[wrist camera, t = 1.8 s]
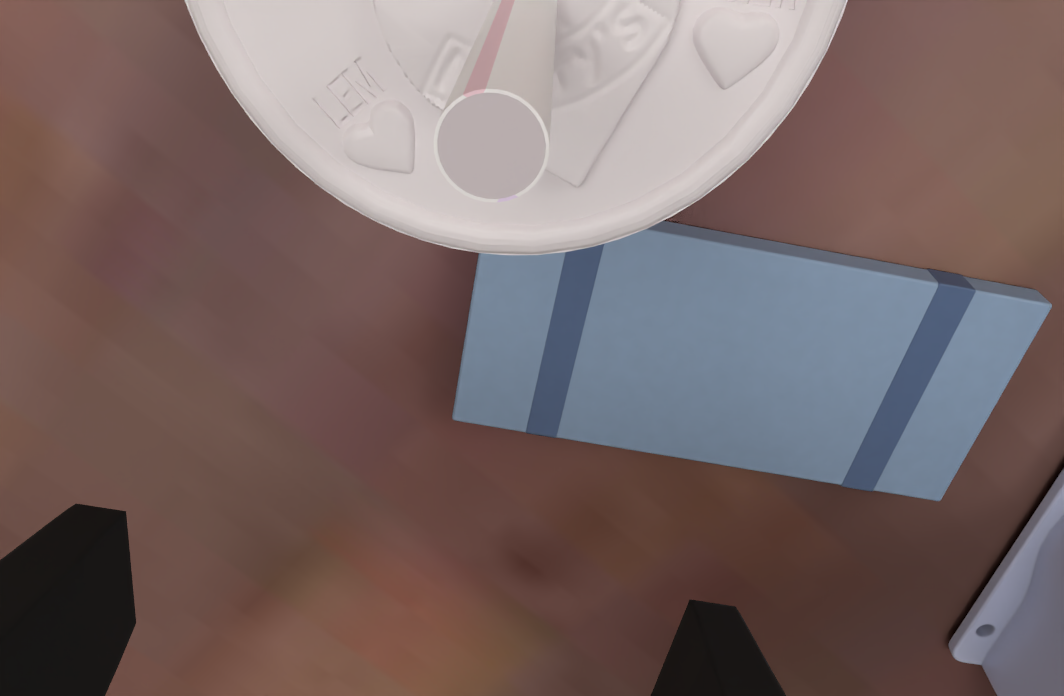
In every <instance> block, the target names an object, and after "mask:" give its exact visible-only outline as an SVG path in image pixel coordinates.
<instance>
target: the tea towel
mask: <svg viewBox="0 0 1064 696" xmlns="http://www.w3.org/2000/svg"><path fill="white" fill-rule="evenodd" d="M1051 307H1052V304H1051V303H1050V302H1049V301H1048V300H1046V299H1045V298H1044V297H1043V296H1042V295H1041V294H1040V293H1039V292H1038V291H1037V290H1034V289H1028V288H1023V287H1017V286H1012V285H1007V284H1001V283H996V282H990V281H985V280H980V279H974V278H969V277H964V276H962V275H959V274H954V273H948V272H943V271H938V270H932V269H920V268H915V267H910V266H904V265H899V264H893V263H888V262H883V261H877V260H872V259H867V258H861V257H856V256H850V255H845V254H840V253H834V252H829V251H823V250H818V249H813V248H807V247H802V246H796V245H791V244H786V243H780V242H775V241H769V240H764V239H759V238H753V237H748V236H743V235H737V234H732V233H726V232H721V231H716V230H710V229H705V228H699V227H694V226H689V225H683V224H678V223H672V222H667V221H661V222H659V223H657V224H655V225H653V226H651V227H649V228H647V229H644V230H642V231H639V232H637V233H634V234H632V235H629V236H626V237H624V238H621V239H618V240H615V241H611V242H608V243H604V244H601V245H597V246H594V247H589V248H584V249H579V250H574V251H568V252H562V253H552V254H542V255H498V254H485V253H479V256H478V262H477V268H476V274H475V280H474V286H473V292H472V298H471V304H470V310H469V317H468V323H467V329H466V335H465V341H464V347H463V353H462V359H461V365H460V372H459V378H458V384H457V390H456V396H455V402H454V408H453V414H452V418H453V420H455V421H461V422H467V423H473V424H479V425H485V426H491V427H497V428H503V429H509V430H515V431H521V432H526V433H529V434H535V435H541V436H547V437H552V438H556V437H557V438H563V439H569V440H575V441H581V442H587V443H593V444H599V445H605V446H611V447H617V448H623V449H629V450H635V451H641V452H647V453H653V454H659V455H665V456H671V457H677V458H683V459H689V460H695V461H701V462H707V463H713V464H719V465H725V466H731V467H737V468H743V469H749V470H755V471H761V472H767V473H773V474H779V475H785V476H791V477H797V478H803V479H809V480H815V481H821V482H827V483H833V484H839V485H840V486H842V487H848V488H854V489H860V490H866V491H873V490H874V491H880V492H886V493H892V494H898V495H904V496H910V497H916V498H922V499H928V500H934V501H940V500H941V499H942V497H943V495H944V493H945V492H946V490H947V488H948V486H949V485H950V483H951V481H952V479H953V478H954V476H955V474H956V472H957V471H958V469H959V467H960V466H961V464H962V462H963V460H964V459H965V457H966V455H967V453H968V452H969V450H970V448H971V446H972V445H973V443H974V441H975V439H976V438H977V436H978V434H979V433H980V431H981V429H982V427H983V426H984V424H985V422H986V420H987V419H988V417H989V415H990V413H991V412H992V410H993V408H994V406H995V405H996V403H997V401H998V399H999V398H1000V396H1001V394H1002V393H1003V391H1004V389H1005V387H1006V386H1007V384H1008V382H1009V380H1010V379H1011V377H1012V375H1013V373H1014V372H1015V370H1016V368H1017V366H1018V365H1019V363H1020V361H1021V360H1022V358H1023V356H1024V354H1025V353H1026V351H1027V349H1028V347H1029V346H1030V344H1031V342H1032V340H1033V339H1034V337H1035V335H1036V333H1037V332H1038V330H1039V328H1040V327H1041V325H1042V323H1043V321H1044V320H1045V318H1046V316H1047V314H1048V313H1049V311H1050V309H1051Z"/></svg>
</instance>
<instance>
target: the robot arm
mask: <svg viewBox="0 0 1064 696" xmlns="http://www.w3.org/2000/svg"><path fill="white" fill-rule="evenodd" d="M135 624H136V617H135V606H134V595H133V584H132V573H131V562H130V551H129V540H128V529H127V518H126V511H120V510H113V509H107V508H101V507H94V506H88V505H81V504H75V505H73V506H72V507H70V508H69V509H67V510H66V511H64V512H63V513H62V514H60V515H59V516H58V517H56V518H55V519H54V520H52V521H51V522H50V523H48V524H47V525H46V526H44V527H43V528H42V529H41V530H39V531H38V532H37V533H35V534H34V535H33V536H31V537H30V538H29V539H27V540H26V541H25V542H23V543H22V544H21V545H20V546H18V547H17V548H16V549H14V550H13V551H12V552H10V553H9V554H8V555H6V556H5V557H4V558H2V559H1V560H0V696H105V694H106V692H107V690H108V688H109V685H110V683H111V681H112V678H113V676H114V674H115V672H116V669H117V667H118V665H119V663H120V660H121V658H122V655H123V653H124V651H125V648H126V646H127V643H128V641H129V639H130V636H131V634H132V631H133V629H134V627H135ZM948 646H949V649H950V651H951V654H952V656H953V657H954V658H955V659H956V660H957V661H960V662H964V663H971V664H977V665H982V667H983V669H984V671H985V673H986V675H987V677H988V679H989V681H990V683H991V685H992V687H993V689H994V691H995V693H996V695H997V696H1064V468H1063V470H1062V471H1061V473H1060V474H1059V476H1058V477H1057V479H1056V480H1055V482H1054V483H1053V485H1052V487H1051V488H1050V490H1049V491H1048V493H1047V494H1046V496H1045V497H1044V499H1043V500H1042V502H1041V503H1040V505H1039V506H1038V508H1037V509H1036V511H1035V512H1034V514H1033V515H1032V517H1031V518H1030V520H1029V521H1028V523H1027V524H1026V526H1025V527H1024V529H1023V531H1022V532H1021V534H1020V535H1019V537H1018V538H1017V540H1016V541H1015V543H1014V544H1013V546H1012V547H1011V549H1010V550H1009V552H1008V553H1007V555H1006V556H1005V558H1004V559H1003V561H1002V562H1001V564H1000V565H999V567H998V568H997V570H996V571H995V573H994V575H993V576H992V578H991V579H990V581H989V582H988V584H987V585H986V587H985V588H984V590H983V591H982V593H981V594H980V596H979V597H978V599H977V600H976V602H975V603H974V605H973V606H972V608H971V609H970V611H969V612H968V614H967V615H966V617H965V619H964V620H963V622H962V623H961V625H960V626H959V628H958V629H957V631H956V632H955V634H954V635H953V637H952V638H951V640H950V642H949V645H948ZM651 696H786V695H785V693H784V691H783V689H782V688H781V686H780V684H779V682H778V681H777V679H776V677H775V675H774V674H773V672H772V670H771V668H770V666H769V665H768V663H767V661H766V659H765V658H764V656H763V654H762V652H761V650H760V648H759V647H758V645H757V643H756V641H755V639H754V638H753V636H752V634H751V632H750V630H749V629H748V627H747V625H746V623H745V621H744V620H743V618H742V616H741V614H740V613H739V611H738V610H737V608H736V607H735V606H728V605H722V604H715V603H709V602H703V601H696V600H689V603H688V605H687V608H686V610H685V613H684V615H683V618H682V620H681V622H680V625H679V627H678V630H677V632H676V635H675V637H674V640H673V642H672V645H671V647H670V650H669V652H668V655H667V657H666V659H665V662H664V664H663V667H662V669H661V672H660V674H659V677H658V679H657V682H656V684H655V687H654V689H653V692H652V694H651Z"/></svg>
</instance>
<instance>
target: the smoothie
mask: <svg viewBox="0 0 1064 696" xmlns="http://www.w3.org/2000/svg"><path fill="white" fill-rule="evenodd" d="M847 1H848V0H185V3H186V5H187V8H188V10H189V13H190V15H191V17H192V20H193V22H194V25H195V27H196V30H197V32H198V34H199V36H200V38H201V40H202V42H203V44H204V46H205V48H206V50H207V52H208V54H209V56H210V58H211V60H212V62H213V64H214V65H215V67H216V69H217V70H218V72H219V74H220V75H221V77H222V78H223V80H224V82H225V83H226V85H227V87H228V88H229V90H230V91H231V93H232V94H233V96H234V97H235V99H236V100H237V101H238V103H239V104H240V105H241V107H242V108H243V109H244V111H245V112H246V113H247V115H248V116H249V118H250V119H251V120H252V121H253V123H254V124H255V125H256V126H257V127H258V128H259V129H260V131H261V132H262V133H263V134H264V135H265V136H266V138H267V139H268V140H269V141H270V142H271V143H272V144H273V145H274V146H275V147H276V148H277V149H278V150H279V151H280V152H281V153H282V154H283V155H284V156H285V157H286V158H287V159H288V160H289V161H290V162H291V163H292V164H293V165H294V166H295V167H296V168H297V169H299V170H300V171H301V172H302V173H303V174H305V175H306V176H307V177H308V178H310V179H311V180H312V181H313V182H314V183H316V184H317V185H318V186H319V187H321V188H322V189H324V190H325V191H326V192H328V193H329V194H331V195H332V196H334V197H335V198H337V199H338V200H339V201H341V202H342V203H344V204H345V205H347V206H349V207H351V208H352V209H354V210H356V211H358V212H359V213H361V214H363V215H365V216H366V217H368V218H370V219H372V220H374V221H376V222H378V223H381V224H383V225H385V226H387V227H389V228H391V229H394V230H396V231H398V232H401V233H404V234H406V235H409V236H412V237H415V238H418V239H420V240H423V241H426V242H430V243H434V244H438V245H442V246H445V247H449V248H453V249H459V250H465V251H471V252H477V253H485V254H498V255H542V254H552V253H562V252H568V251H574V250H579V249H584V248H589V247H594V246H597V245H601V244H604V243H608V242H611V241H615V240H618V239H621V238H624V237H626V236H629V235H632V234H634V233H637V232H639V231H642V230H644V229H647V228H649V227H651V226H653V225H655V224H657V223H659V222H661V221H663V220H665V219H667V218H669V217H671V216H673V215H675V214H677V213H678V212H680V211H682V210H683V209H685V208H687V207H688V206H690V205H691V204H693V203H695V202H696V201H698V200H700V199H701V198H702V197H704V196H705V195H706V194H708V193H709V192H710V191H712V190H713V189H714V188H716V187H717V186H719V185H720V184H721V183H723V182H724V181H725V180H726V179H727V178H728V177H730V176H731V175H732V174H733V173H734V172H735V171H736V170H738V169H739V168H740V167H741V166H742V165H743V164H744V163H745V162H747V161H748V160H749V159H750V158H751V157H752V155H753V154H754V153H755V152H756V151H757V150H758V149H759V148H760V147H761V146H762V145H763V144H764V143H765V142H766V141H767V140H768V139H769V138H770V136H771V135H772V134H773V133H774V131H775V130H776V129H777V128H778V126H779V125H780V124H781V123H782V121H783V120H784V119H785V118H786V116H787V115H788V114H789V113H790V111H791V110H792V108H793V107H794V105H795V104H796V102H797V101H798V99H799V98H800V96H801V95H802V93H803V92H804V90H805V89H806V87H807V86H808V84H809V83H810V81H811V79H812V78H813V76H814V74H815V72H816V70H817V68H818V67H819V65H820V63H821V61H822V59H823V57H824V56H825V54H826V52H827V50H828V48H829V45H830V43H831V41H832V38H833V36H834V34H835V32H836V29H837V27H838V25H839V23H840V20H841V18H842V15H843V12H844V9H845V6H846V3H847Z"/></svg>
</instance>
